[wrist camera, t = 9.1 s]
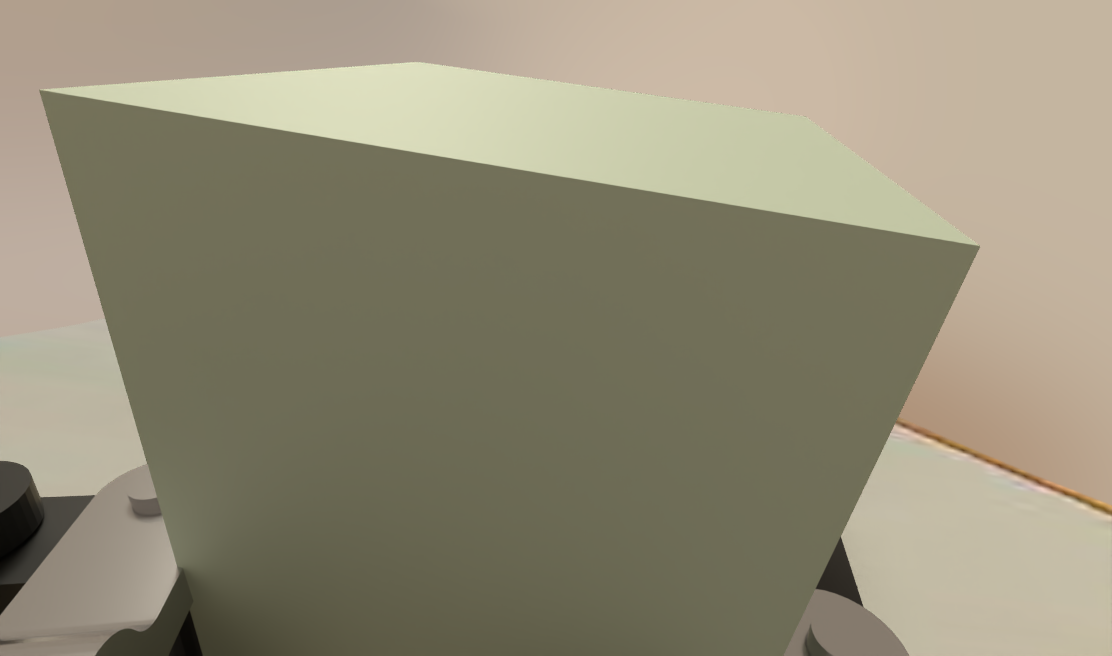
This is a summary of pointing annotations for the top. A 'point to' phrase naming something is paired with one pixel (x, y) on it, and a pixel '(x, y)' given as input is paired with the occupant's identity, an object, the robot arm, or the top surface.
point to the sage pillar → (497, 353)
